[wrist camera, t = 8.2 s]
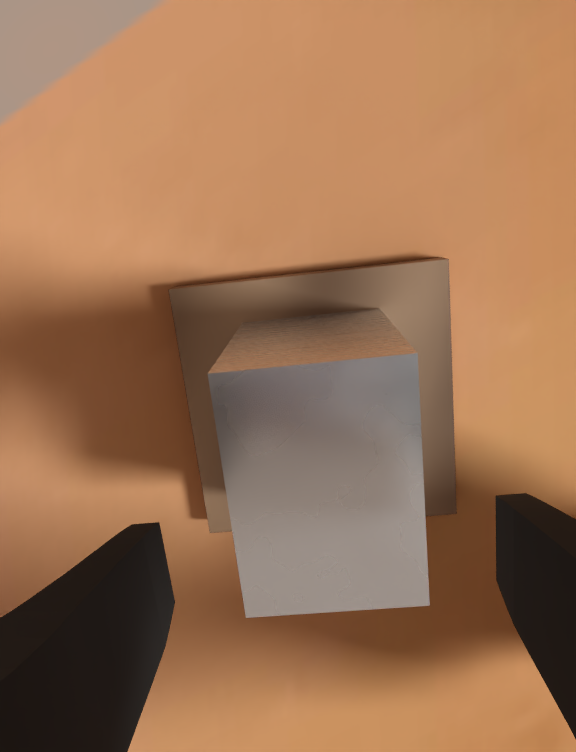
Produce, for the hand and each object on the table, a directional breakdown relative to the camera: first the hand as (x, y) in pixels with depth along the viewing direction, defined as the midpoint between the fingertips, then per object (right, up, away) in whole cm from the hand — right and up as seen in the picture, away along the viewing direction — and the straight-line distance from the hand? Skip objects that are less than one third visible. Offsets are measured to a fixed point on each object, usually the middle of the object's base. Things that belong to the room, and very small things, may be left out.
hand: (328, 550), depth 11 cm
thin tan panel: (0, +3, +10) cm, 10 cm away
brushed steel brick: (0, +3, +9) cm, 9 cm away
